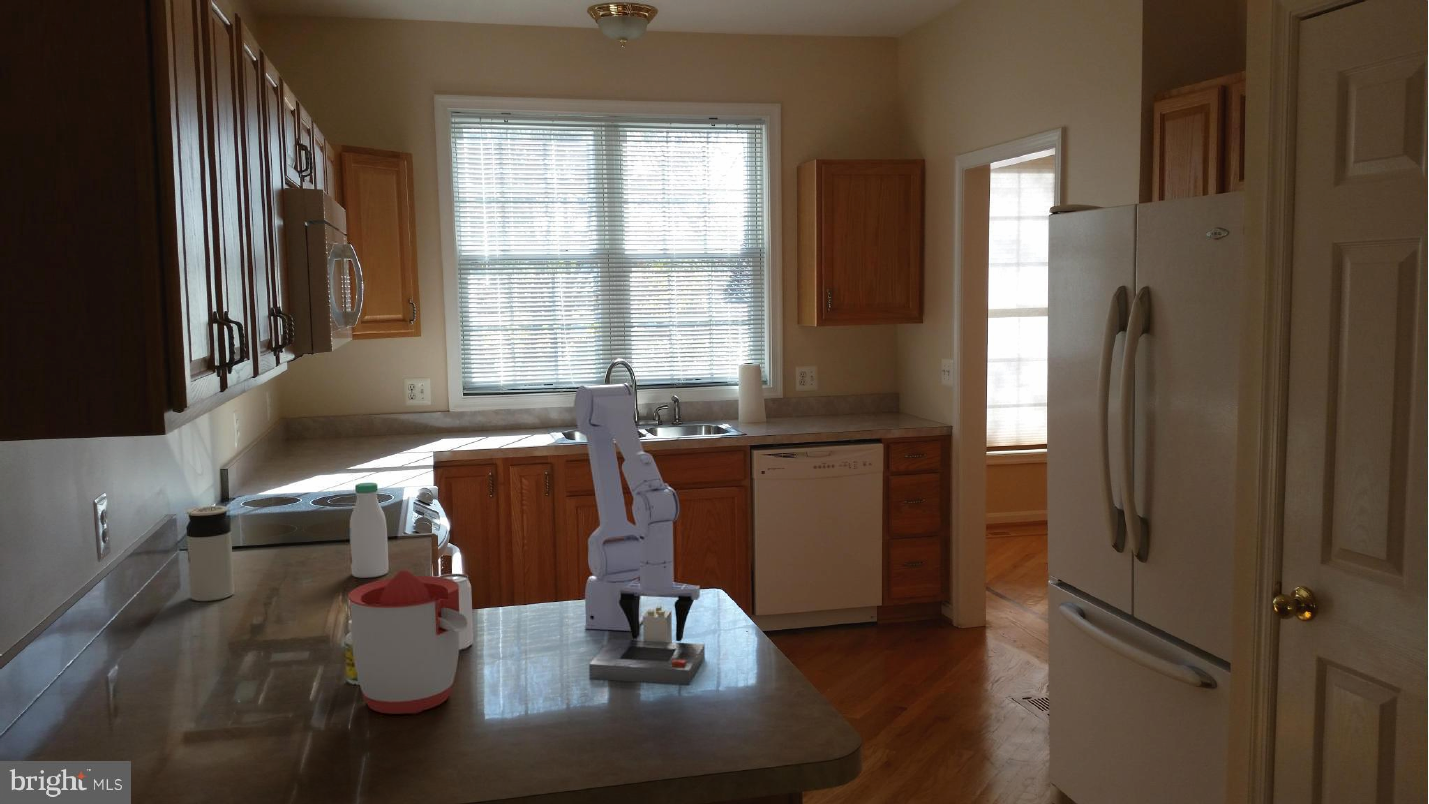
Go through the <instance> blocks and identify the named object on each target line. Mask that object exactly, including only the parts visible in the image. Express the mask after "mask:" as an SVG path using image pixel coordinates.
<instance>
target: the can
mask: <svg viewBox="0 0 1429 804" xmlns="http://www.w3.org/2000/svg"><path fill="white" fill-rule="evenodd" d="M437 577H442V578H447V579H450V580H453V581H455V582H456V583H457V584H458V585H459V613H461V614H463V615H464V616H465V617H466V619H467V627H466V628H465V629H464V630H462V631H460V632H459V650H460V651H463V650H462V649H464V650H466V649H468V648H470V647H471V646H472V644H473V642H474V640H473V639H474V636H473V634H474V631H473V629H474V628H473V627H474V626H473V605H472V601H473V600H472V585H471V583H470V581H469V576H468V574H464V573H447V574H442V575H438V576H437ZM470 645H471V646H470ZM469 646H470V647H469ZM467 647H468V648H467Z"/></svg>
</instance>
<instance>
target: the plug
mask: <svg viewBox="0 0 1429 804" xmlns="http://www.w3.org/2000/svg"><path fill="white" fill-rule="evenodd" d="M672 612H673V611H672V609H671V610H670V609H669V610H667V609H662V606H661V605H656V607H655V609H650V608H649V609H648V610H647V611H646V612H645V613H644V616H643V622H642V639H643V640H642V641H656V642H673V627H672V625H673V623H672V617H673V616H672Z"/></svg>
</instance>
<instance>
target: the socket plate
mask: <svg viewBox="0 0 1429 804" xmlns="http://www.w3.org/2000/svg"><path fill="white" fill-rule="evenodd" d="M705 645H706V644H704V643H690V642H689V643H688V642H686V643H685V642H684V643H683V642H673V641H672V642H656V641H643V640H637V639H619V638H618V639H617V638H616V639H615V638H614V639H613V638H610V640H609V641H608V642H607V644H605V645H604V646H603V648H602V649H601V650H600V651H599V652H598V653H597V655H596V656H595V657H594V658H593V659H592V660H591V661H590V662H589V664H588V670H589V673H588V674H589V680H599V679H602V680H601V681H617V682H632V683H633V682H634V683H647V684H649V683H650V684H663V685H664V684H665V685H679V686H689V685H691V683H692V681H693V679H694V677H695V676H696V674H697V672H698V671H699V669H700V667H701V666H702V664H703V662H704V660H705V659H706V656H705V655H706V653H705V651H706V650H705V649H706V647H705Z"/></svg>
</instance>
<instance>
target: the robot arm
mask: <svg viewBox="0 0 1429 804" xmlns="http://www.w3.org/2000/svg"><path fill="white" fill-rule="evenodd" d="M634 392H635V391H634V390H633V388H632V387H631V386H630V384H629V383H626V382H623V383H619V384H617V383H616V384H602V385H600V384H598V385H586V384H585V385H580V386H579V387H578V388H577V390H576V393H575V397H574V400H573V408H574V413H575V420H576V425H577V429H578V432H579V434H581V435H582V436H585V438H586V444H587V450H588V456H589V457H588V458H589V463H590V469H591V475H592V480H593V481H592V482H593V486H594V487H593V489H594V492H595V493H594V494H595V500H596V506H597V511H598V513H597V514H598V517H599V526H598V527H597V528H596V529H595V530H594V531H593V532H592V533H591V535H589V538H587V546H588V553H587V562H588V567H589V570H590V572H591V573H592V575H590V576H589V577H588V579H587V581H586V584H585V592H584V602H585V603H584V606H585V607H584V608H585V625H584V629H587V630H588V629H589V630H604V631H605V630H607V631H609V630H610V631H626V632H627V631H628V632H630V633H631V638H632V640H637V638H639V636H640V631H641V629H640V628H641V627H640V626H641V624H643V616H644V615H645V614H644V615H641V614H640V604H641V603H640V600H641V597H653V598H673V599H674V598H676V600H675V602H674V604H673V605H674V610H675V623H676V625H675V626H676V627H675V640H676V642H681V641H682V640H683V638H684V631H685V626H686V623H687V622H686V621H687V619H688V615H689V613H690V610H691V608H692V606H693V604H694V601H698V600H699V599H700V597H701V591H700V590H701V587H700V585H692V584H686V583H679V582H674V526H673V525H674V524H673V522H675V521H676V520H678V518H679V514H680V502H679V498H678V495H677V492H676V491H675V490H674V488H672V487H670V485H669V484H668V483H667V482H666V483H665V482H664V481H663V478H662V476H661V473H660V471H659V468H658V467H657V464H656V462H655V460H654V457H653V456H652V454H650V453H649V452H648V453H647V452H645V451H644V449H643V446H642V442H641V440H640V436H639V433H638V429H637V425H636V422H635V420H634V415H635V409H636V396H635V393H634ZM616 445H617V447H618V450H619V451H620V453H621V455H622V457H623V458H624V460H623V463H622V465H621V471H622V474H623V476H624V478H625V480H626V483H627V485H628V487H629V489H630V493H631V495H632V497H633V499H632V500H633V501H632V505H631V511H632V516H633V519H634V521H635V524H633V523H631V522H630V521H628V518H627V511H626V505H625V498H624V493H623V487H622V482H621V480H622V479H621V476H620V469H619V463H618V458H617V457H618V456H617V450H616ZM618 539H619V540H618ZM620 539H621V540H620ZM610 540H613V541H610ZM605 541H607V542H605Z"/></svg>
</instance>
